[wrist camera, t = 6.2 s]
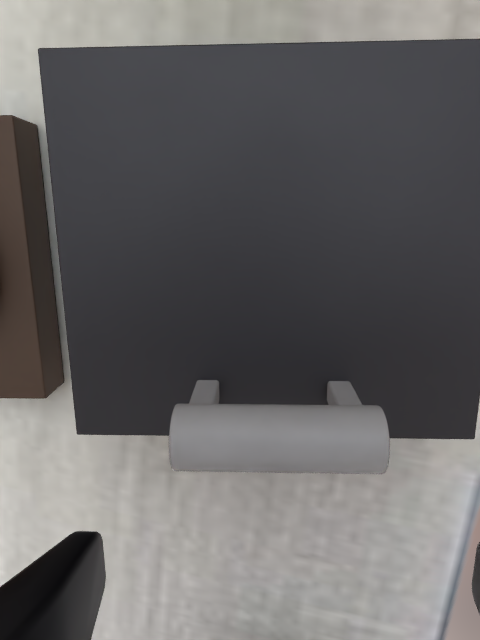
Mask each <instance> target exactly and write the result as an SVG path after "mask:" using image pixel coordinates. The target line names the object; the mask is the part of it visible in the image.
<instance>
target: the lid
mask: <svg viewBox="0 0 480 640" xmlns="http://www.w3.org/2000/svg"><path fill="white" fill-rule="evenodd" d="M38 54H39V64H40V74H41V84H42V94H43V104H44V114H45V123H46V133H47V143H48V153H49V163H50V173H51V183H52V192H53V202H54V212H55V222H56V232H57V242H58V252H59V262H60V271H61V281H62V291H63V301H64V311H65V321H66V331H67V340H68V350H69V360H70V370H71V380H72V390H73V400H74V409H75V419H76V429H77V434H83V435H167V436H169V456H170V463H171V467H172V469H173V470H174V471H208V472H275V473H342V474H383V473H385V472H386V470H387V467H388V463H389V455H390V440H389V438H417V439H474V438H475V430H476V422H477V414H478V406H479V399H480V39H450V40H404V41H357V42H311V43H264V44H218V45H171V46H125V47H78V48H39V49H38Z"/></svg>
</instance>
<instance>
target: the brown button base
mask: <svg viewBox="0 0 480 640" xmlns="http://www.w3.org/2000/svg"><path fill="white" fill-rule="evenodd" d="M62 383H64V377H63V368H62V358H61V349H60V339H59V330H58V320H57V311H56V301H55V292H54V282H53V273H52V263H51V254H50V244H49V235H48V226H47V216H46V207H45V197H44V188H43V178H42V169H41V159H40V150H39V140H38V131H37V125H35V124H33V123H30V122H28V121H25V120H22V119H20V118H17V117H15V116H12V115H0V398H47V397H48V396H49V395H50V394H51V393H52V392H53V391H54V390H56V389H57V388H58V387H59V386H60V385H61V384H62Z"/></svg>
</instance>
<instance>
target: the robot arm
mask: <svg viewBox="0 0 480 640" xmlns="http://www.w3.org/2000/svg"><path fill="white" fill-rule="evenodd" d="M105 580H106V573H105V562H104V551H103V541H102V537H101V534H99V533H98V532H89V531H77V532H74V533H72V534H70V535H69V536H68V537H66V538H65V539H64V540H62V541H61V542H60V543H58V544H57V545H56V546H54V547H53V548H52V549H50V550H49V551H48V552H46V553H45V554H44V555H42V556H41V557H40V558H38V559H37V560H36V561H34V562H33V563H32V564H30V565H29V566H28V567H26V568H25V569H24V570H22V571H21V572H20V573H18V574H17V575H16V576H14V577H13V578H12V579H10V580H9V581H8V582H6V583H5V584H4V585H2V586H1V587H0V640H91V637H92V633H93V629H94V626H95V622H96V618H97V615H98V611H99V607H100V604H101V600H102V596H103V592H104V588H105ZM472 592H473V597H474V601H475V604H476V606H477V609H478V612H479V614H480V542H479V544H478V546H477V550H476V557H475V564H474V572H473V579H472Z"/></svg>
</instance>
